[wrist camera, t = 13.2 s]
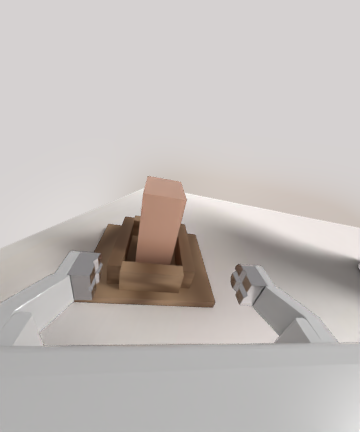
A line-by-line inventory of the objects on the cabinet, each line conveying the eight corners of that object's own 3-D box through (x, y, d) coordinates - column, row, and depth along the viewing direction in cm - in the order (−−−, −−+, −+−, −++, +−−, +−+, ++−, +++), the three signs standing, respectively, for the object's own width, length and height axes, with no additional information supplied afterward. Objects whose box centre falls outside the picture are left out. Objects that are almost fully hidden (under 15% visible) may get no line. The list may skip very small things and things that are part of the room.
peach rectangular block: (166, 244, 28) (181, 181, 23) (168, 273, 23) (186, 200, 18) (139, 241, 27) (147, 175, 22) (134, 270, 22) (143, 193, 17)
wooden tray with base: (194, 238, 33) (199, 221, 31) (212, 307, 21) (223, 286, 19) (108, 228, 30) (108, 208, 28) (72, 301, 18) (68, 275, 16)
